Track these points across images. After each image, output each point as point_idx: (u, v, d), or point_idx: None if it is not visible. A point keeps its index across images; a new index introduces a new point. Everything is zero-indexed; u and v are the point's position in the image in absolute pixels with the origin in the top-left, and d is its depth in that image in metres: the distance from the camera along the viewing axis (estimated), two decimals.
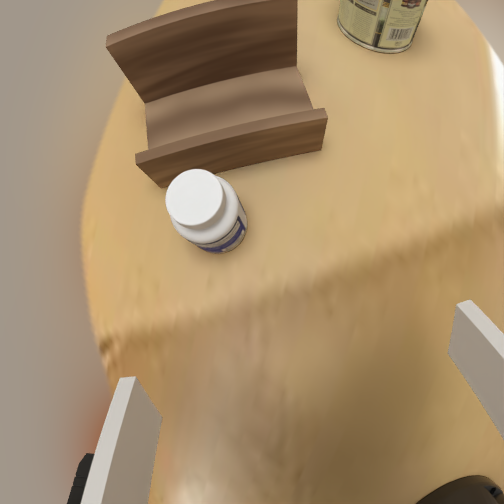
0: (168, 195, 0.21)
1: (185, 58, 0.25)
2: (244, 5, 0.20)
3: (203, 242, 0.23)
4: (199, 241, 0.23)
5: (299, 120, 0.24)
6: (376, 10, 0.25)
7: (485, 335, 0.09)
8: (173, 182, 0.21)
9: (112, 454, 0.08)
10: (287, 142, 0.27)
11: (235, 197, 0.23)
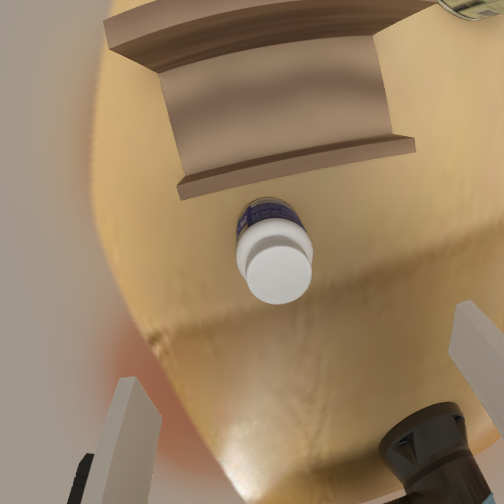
0: (250, 275, 0.19)
1: (235, 36, 0.15)
2: None
3: None
4: None
5: (386, 153, 0.19)
6: None
7: (485, 335, 0.09)
8: (255, 261, 0.19)
9: (112, 454, 0.08)
10: None
11: (311, 249, 0.22)
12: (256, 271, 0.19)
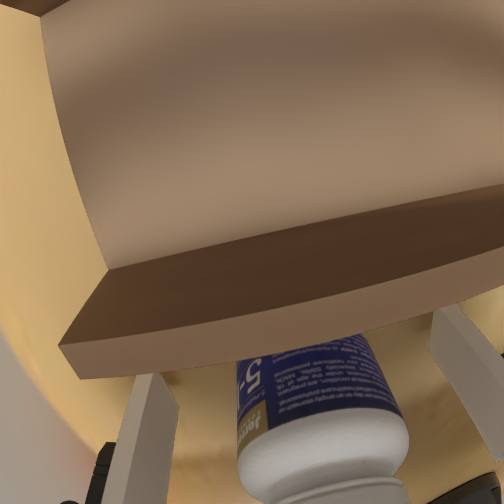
0: None
1: None
2: None
3: None
4: None
5: None
6: None
7: (461, 332, 0.09)
8: None
9: (135, 440, 0.09)
10: None
11: (407, 450, 0.07)
12: None
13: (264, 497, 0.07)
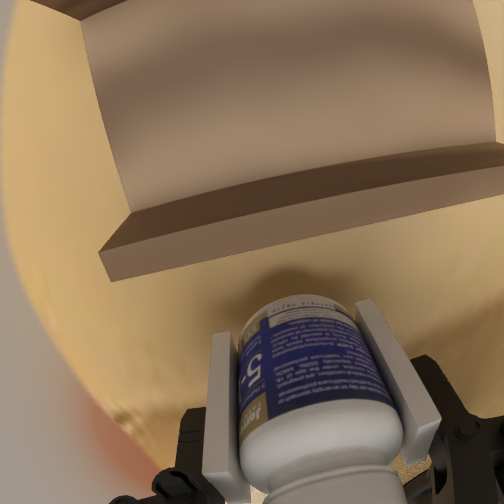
0: None
1: None
2: None
3: None
4: None
5: None
6: None
7: (372, 333, 0.11)
8: None
9: (227, 400, 0.10)
10: None
11: None
12: None
13: (264, 486, 0.08)
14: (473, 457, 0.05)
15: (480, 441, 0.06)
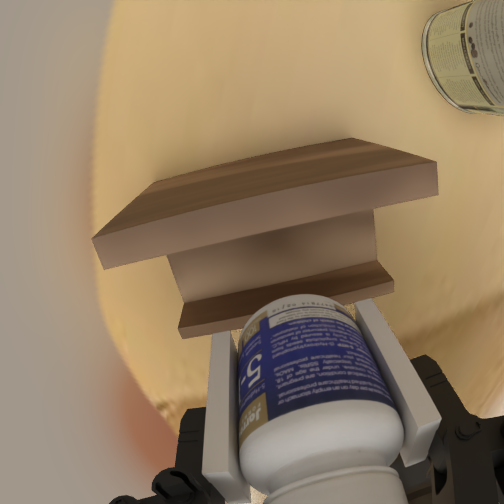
0: None
1: None
2: (356, 211, 0.14)
3: None
4: None
5: (365, 296, 0.22)
6: (497, 105, 0.16)
7: (372, 333, 0.11)
8: None
9: (227, 400, 0.10)
10: None
11: (402, 442, 0.08)
12: None
13: (264, 487, 0.08)
14: (473, 457, 0.05)
15: (480, 441, 0.06)
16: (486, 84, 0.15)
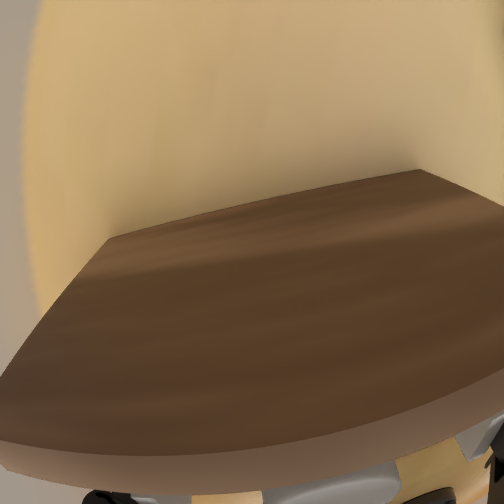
0: None
1: None
2: None
3: None
4: None
5: None
6: None
7: None
8: None
9: None
10: None
11: None
12: None
13: None
14: None
15: None
16: None
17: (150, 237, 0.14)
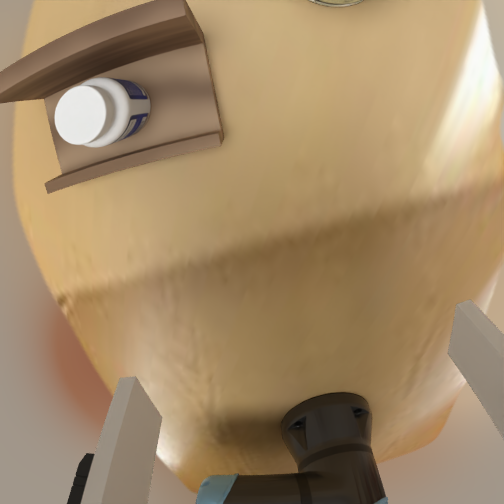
0: (56, 116, 0.17)
1: (68, 74, 0.19)
2: (116, 36, 0.15)
3: None
4: (94, 147, 0.21)
5: (190, 149, 0.24)
6: None
7: (485, 335, 0.09)
8: (60, 102, 0.16)
9: (112, 454, 0.08)
10: None
11: (125, 100, 0.19)
12: (61, 111, 0.17)
13: None
14: None
15: None
16: None
17: None
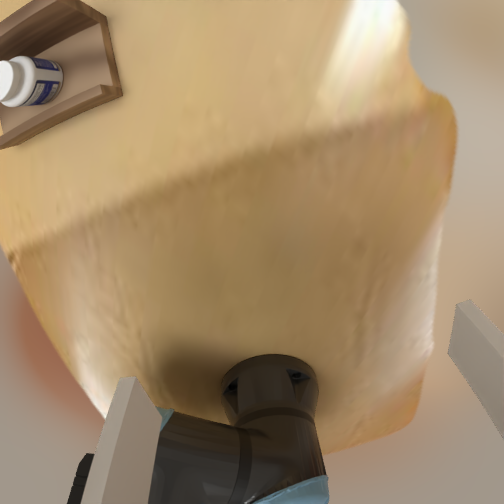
0: None
1: (2, 59, 0.21)
2: (18, 24, 0.16)
3: (16, 106, 0.22)
4: (13, 106, 0.22)
5: (81, 100, 0.25)
6: None
7: (485, 335, 0.09)
8: None
9: (112, 454, 0.08)
10: (86, 106, 0.28)
11: (31, 69, 0.21)
12: None
13: None
14: None
15: None
16: None
17: None
